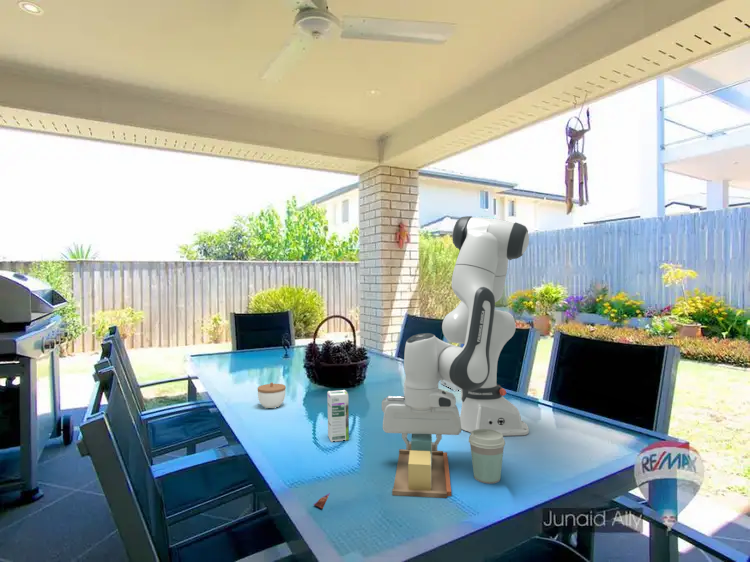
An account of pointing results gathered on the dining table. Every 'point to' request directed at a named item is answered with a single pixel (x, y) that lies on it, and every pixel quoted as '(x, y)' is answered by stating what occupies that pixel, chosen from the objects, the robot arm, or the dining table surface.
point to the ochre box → (419, 470)
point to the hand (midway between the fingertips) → (421, 449)
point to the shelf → (438, 476)
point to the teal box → (422, 443)
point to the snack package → (321, 501)
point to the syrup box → (338, 415)
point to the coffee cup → (487, 454)
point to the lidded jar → (271, 395)
